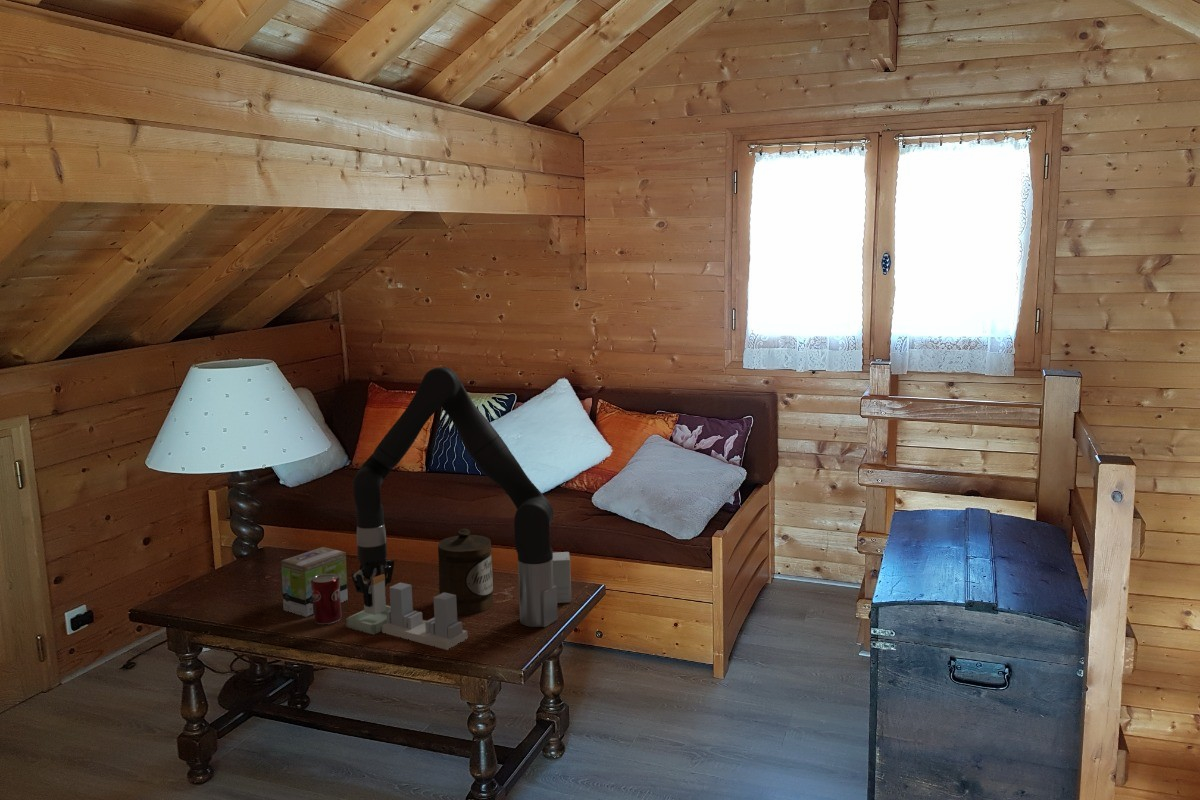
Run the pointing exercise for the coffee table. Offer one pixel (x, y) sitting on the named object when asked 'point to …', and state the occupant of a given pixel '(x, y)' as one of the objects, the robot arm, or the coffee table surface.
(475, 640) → the coffee table surface
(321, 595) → the soda can
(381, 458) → the robot arm
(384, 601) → the block
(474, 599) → the wooden container
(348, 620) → the tray
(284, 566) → the tea box
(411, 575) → the coffee table surface
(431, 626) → the block
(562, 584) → the supplement box
